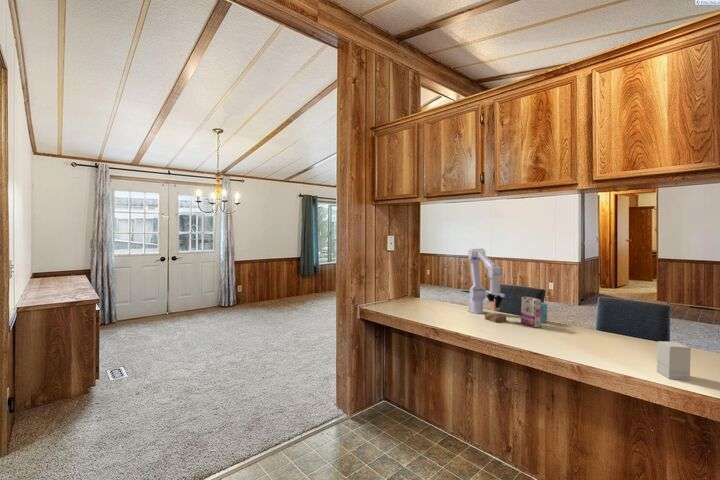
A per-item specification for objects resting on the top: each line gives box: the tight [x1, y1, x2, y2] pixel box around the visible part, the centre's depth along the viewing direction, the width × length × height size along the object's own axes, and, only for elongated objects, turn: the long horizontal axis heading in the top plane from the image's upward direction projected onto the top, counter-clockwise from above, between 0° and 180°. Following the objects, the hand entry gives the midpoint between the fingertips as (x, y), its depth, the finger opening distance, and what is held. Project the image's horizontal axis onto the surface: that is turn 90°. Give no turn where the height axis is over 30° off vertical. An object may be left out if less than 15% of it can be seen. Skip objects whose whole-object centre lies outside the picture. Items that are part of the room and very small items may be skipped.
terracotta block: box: [488, 300, 501, 312], centre depth 222 cm, size 4×4×5 cm
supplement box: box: [656, 340, 692, 381], centre depth 137 cm, size 7×7×13 cm
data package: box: [541, 301, 548, 324], centre depth 220 cm, size 12×4×12 cm, turn 36°
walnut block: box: [484, 312, 507, 323], centre depth 222 cm, size 9×9×4 cm
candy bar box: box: [520, 296, 542, 328], centre depth 210 cm, size 11×5×16 cm, turn 16°
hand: (494, 306), depth 222 cm, fingers closed on terracotta block, 4 cm apart
